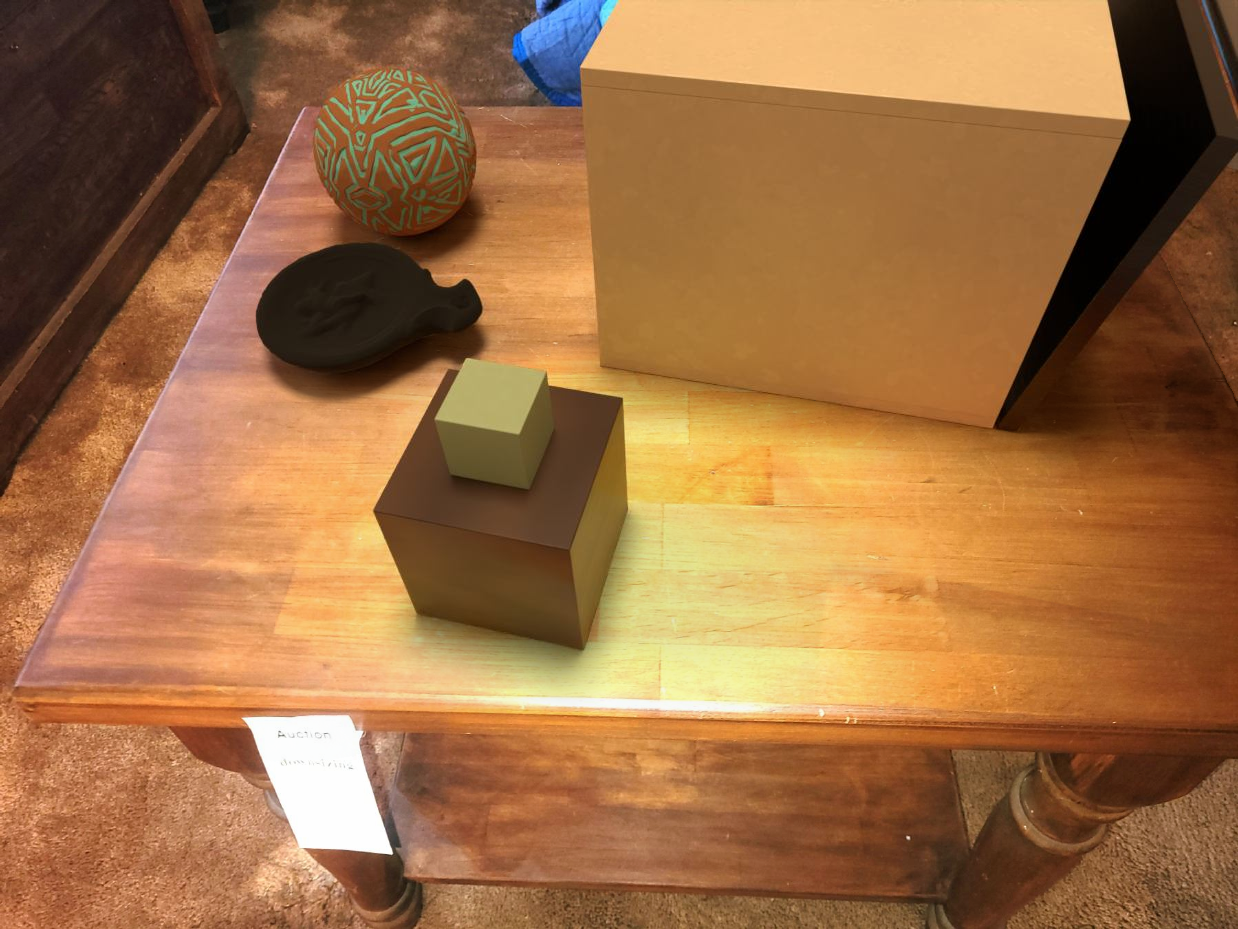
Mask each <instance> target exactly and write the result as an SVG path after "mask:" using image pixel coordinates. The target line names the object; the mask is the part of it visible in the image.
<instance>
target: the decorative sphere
mask: <svg viewBox="0 0 1238 929" xmlns="http://www.w3.org/2000/svg"><path fill="white" fill-rule="evenodd" d="M459 104H460V103H459V102H458V101H457V99H456V98H455V97H454V96H453V95H452V94H451V93H450V92H449V91H448V90H447V89H446V88H444V86H442V85H440V84H439V83H438V82H437V81H436V80H434V79H432V78H431V77H428V76H427V75H424V74H422V73H420V72H416V71H413V70H409V69H407V68H400V67H397V66H380V67H375V68H369V69H366V70H363V71H360V72H356V74H353V75H351V76H350V77H349V78H346V79H345V80H344V81H342V82H341V83H339V85H338V86H336V87H335V88H334V89H332V91H331V92H330V94H329V95H328V96H327V97H326V101H325V102H324V103H323V104H322V106H321V109H320V110H319V111H318V112H319V113H318V114H317V117H316V121H315V124H314V130H313V135H312V153H313V159H314V161H315V169H316V171H317V174H318V178H319V180H320V182H321V183H322V186H323V188H325V190H326V193H327V194H328V196H329V197H330V198H331V199H332V200H333V202H334V205H336V207H337V208H339V209H340V211H341V212H342V213H344V215H345V216H347V217H348V218H350V219H351V220H352V221H354V222H356V223H357V224H359V225H361V226H363V227H364V228H367V229H368V230H371V231H375V232H378V233H380V234H384V235H389V236H411V235H412V236H414V235H419V234H423V233H426V232H430V231H431V230H434V229H436V228H437V227H439V226H441V225H443V224H445V223H446V222H447V221H448V220H450V219H451V218H452V217H453V216H454V215H455V214H456V213H457V212H458V211H459V210H460V209H461V208H462V206H463V205H464V203H465V201H466V200H467V198H468V197H469V195H470V192H471V190H472V188H473V185H474V179H476V173H477V153H478V152H477V143H476V139H475V136H474V132H473V128H472V125H471V122H470V121H469V119H468V118H467V116H466V112H465V111H464V109H463V108H462V107H461V106H460V105H459Z"/></svg>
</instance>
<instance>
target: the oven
mask: <svg viewBox="0 0 1238 929" xmlns="http://www.w3.org/2000/svg"><path fill="white" fill-rule="evenodd" d="M579 74H580V92H581V93H580V94H581V106H582V107H581V108H582V119H583V135H584V148H585V164H586V165H585V166H586V179H587V192H588V205H589V209H588V210H589V220H590V236H591V237H590V238H591V250H592V262H593V263H592V266H593V267H592V268H593V279H594V294H595V308H596V310H595V311H596V322H597V334H598V336H597V337H598V351H599V353H598V354H599V364H600V367H603V368H604V367H605V368H612V369H616V370H623V371H629V372H630V371H631V372H637V373H642V374H648V375H649V374H650V375H653V376H654V375H655V376H661V377H666V378H667V377H668V378H674V379H680V380H686V381H693V382H699V383H705V384H713V385H717V386H723V387H730V388H734V389H741V390H742V389H743V390H749V391H755V392H761V393H768V394H773V395H780V396H785V397H786V396H787V397H791V398H792V397H793V398H798V399H803V400H804V399H805V400H809V401H810V400H812V401H818V402H823V403H831V404H835V405H841V406H847V407H848V406H849V407H855V408H861V409H866V410H874V411H880V412H887V413H892V414H899V415H904V416H911V417H917V418H924V419H929V420H935V421H941V422H948V423H955V424H959V425H966V426H967V425H968V426H972V427H979V428H984V429H985V428H986V429H993V428H994V426H995V423H996V422H997V417H998V415H999V412H1000V410H1001V408H1002V406H1003V404H1004V401H1005V399H1006V397H1007V395H1008V392H1009V390H1010V388H1011V386H1012V384H1013V381H1014V379H1015V377H1016V375H1017V372H1018V370H1019V368H1020V366H1021V363H1022V361H1023V359H1024V357H1025V355H1026V352H1027V350H1028V348H1029V346H1030V343H1031V341H1032V339H1033V337H1034V335H1035V332H1036V330H1037V328H1038V326H1039V323H1040V321H1041V319H1042V317H1043V315H1044V312H1045V310H1046V308H1047V306H1048V303H1049V301H1050V299H1051V297H1052V295H1053V292H1054V290H1055V288H1056V286H1057V283H1058V281H1059V279H1060V277H1061V275H1062V272H1063V270H1064V268H1065V266H1066V263H1067V261H1068V259H1069V257H1070V255H1071V252H1072V250H1073V248H1074V246H1075V243H1076V241H1077V239H1078V237H1079V234H1080V232H1081V230H1082V228H1083V226H1084V223H1085V221H1086V219H1087V217H1088V214H1089V212H1090V210H1091V208H1092V206H1093V203H1094V201H1095V199H1096V197H1097V194H1098V192H1099V190H1100V188H1101V186H1102V183H1103V181H1104V179H1105V177H1106V174H1107V172H1108V170H1109V168H1110V166H1111V163H1112V161H1113V159H1114V157H1115V154H1116V152H1117V150H1118V148H1119V146H1120V143H1121V141H1122V138H1123V136H1124V134H1125V132H1126V129H1127V127H1128V125H1129V123H1130V121H1131V119H1130V114H1129V109H1128V104H1127V99H1126V94H1125V88H1124V83H1123V78H1122V73H1121V68H1120V63H1119V57H1118V52H1117V47H1116V42H1115V37H1114V32H1113V27H1112V21H1111V16H1110V11H1109V6H1108V1H1107V0H617V2H616V4H615V6H614V7H613V9H612V10H611V13H609V16H608V17H607V19H606V21H605V23H604V24H603V26H602V28H601V30H600V31H599V33H598V35H597V37H596V38H595V40H594V42H593V43H592V45H591V47H590V48H589V50H588V52H587V54H586V55H585V57H584V59H583V61H582V62H581V64H580V66H579Z"/></svg>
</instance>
